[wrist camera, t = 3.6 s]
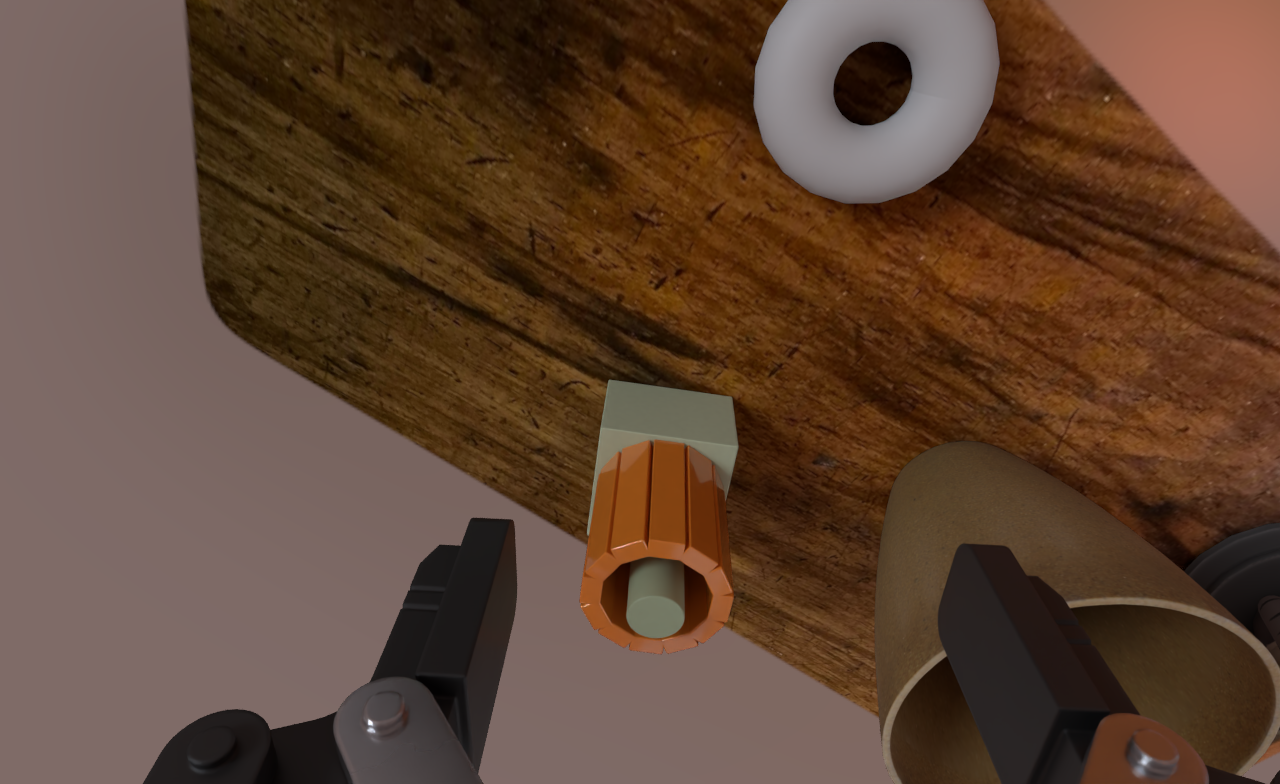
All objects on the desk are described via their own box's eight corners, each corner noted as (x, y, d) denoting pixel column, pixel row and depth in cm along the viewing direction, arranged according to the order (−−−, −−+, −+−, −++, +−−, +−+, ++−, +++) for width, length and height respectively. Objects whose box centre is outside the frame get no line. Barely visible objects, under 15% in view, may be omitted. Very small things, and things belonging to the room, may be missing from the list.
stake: (595, 480, 45) (565, 664, 33) (608, 379, 41) (581, 543, 29) (710, 495, 45) (721, 684, 33) (732, 396, 41) (754, 566, 30)
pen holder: (590, 533, 40) (573, 643, 34) (604, 431, 37) (588, 531, 30) (710, 549, 40) (716, 662, 34) (734, 449, 37) (746, 552, 31)
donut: (736, -24, 32) (762, 210, 36) (742, -25, 29) (770, 231, 33) (985, -76, 31) (980, 174, 35) (1018, -83, 28) (1008, 191, 32)
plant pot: (939, 332, 39) (1085, 535, 25) (1145, 462, 42) (1375, 706, 28) (768, 524, 46) (809, 769, 32) (958, 624, 49) (1070, 886, 35)
